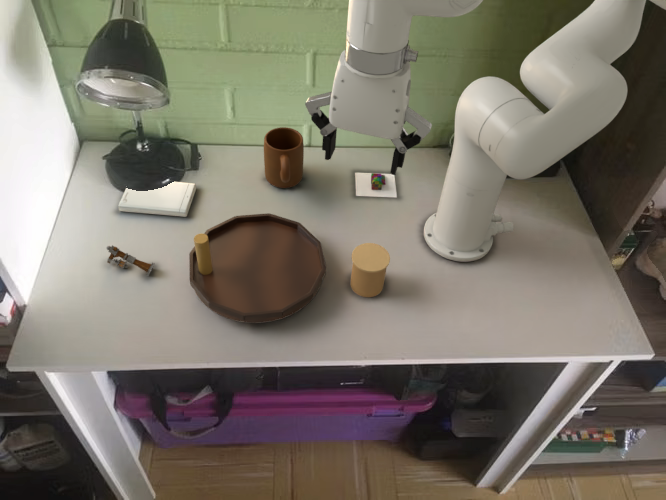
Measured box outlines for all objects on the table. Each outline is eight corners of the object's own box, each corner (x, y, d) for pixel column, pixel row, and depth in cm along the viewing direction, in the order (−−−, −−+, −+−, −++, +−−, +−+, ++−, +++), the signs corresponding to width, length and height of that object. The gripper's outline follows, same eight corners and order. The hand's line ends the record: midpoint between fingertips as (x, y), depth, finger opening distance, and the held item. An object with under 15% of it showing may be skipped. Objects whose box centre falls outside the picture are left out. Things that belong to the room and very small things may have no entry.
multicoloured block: (396, 197, 117) (398, 187, 115) (356, 195, 116) (357, 186, 115) (394, 174, 121) (395, 164, 120) (355, 172, 121) (356, 162, 119)
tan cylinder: (380, 269, 104) (385, 241, 99) (388, 296, 100) (394, 269, 95) (345, 272, 103) (348, 244, 98) (352, 300, 99) (355, 273, 94)
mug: (305, 204, 114) (307, 166, 107) (265, 205, 113) (264, 166, 106) (301, 164, 122) (302, 126, 115) (264, 165, 121) (262, 126, 114)
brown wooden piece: (105, 254, 101) (110, 240, 98) (149, 275, 103) (155, 262, 100) (100, 262, 100) (105, 248, 97) (144, 283, 102) (150, 270, 98)
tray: (313, 218, 109) (315, 183, 103) (333, 315, 94) (336, 280, 88) (190, 228, 105) (184, 192, 99) (191, 329, 91) (184, 295, 85)
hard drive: (117, 205, 109) (185, 211, 108) (131, 176, 114) (195, 181, 114) (119, 212, 110) (186, 217, 110) (132, 183, 115) (196, 188, 115)
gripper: (448, 51, 75) (425, 159, 87) (316, 25, 77) (312, 134, 90) (439, 81, 70) (416, 191, 82) (299, 53, 72) (296, 164, 85)
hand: (362, 161), depth 86 cm, fingers open, 9 cm apart
